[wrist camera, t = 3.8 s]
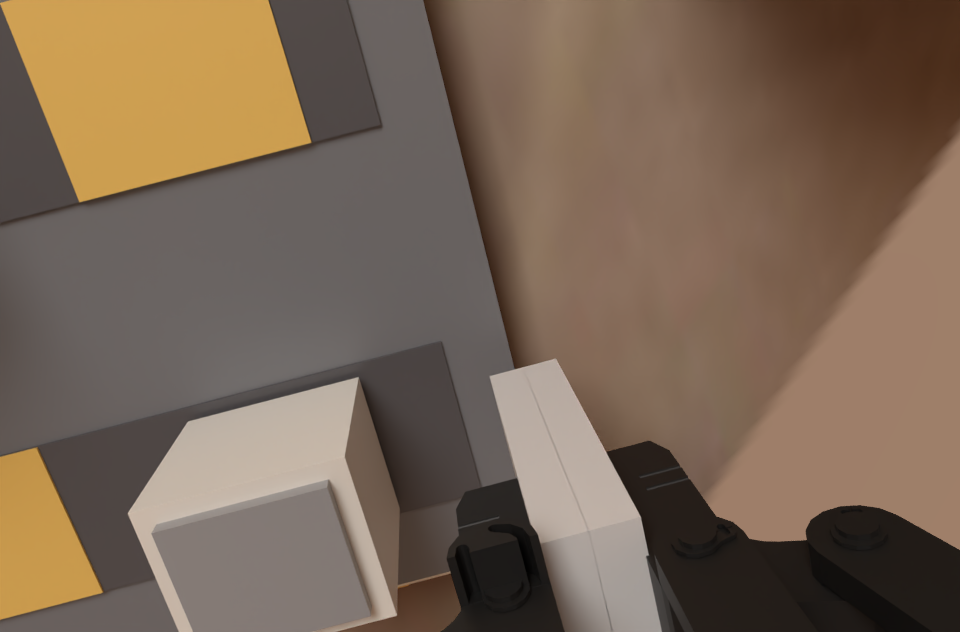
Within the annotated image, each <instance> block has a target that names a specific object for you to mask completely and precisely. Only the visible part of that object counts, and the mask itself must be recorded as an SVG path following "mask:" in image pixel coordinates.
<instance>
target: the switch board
mask: <svg viewBox="0 0 960 632" xmlns="http://www.w3.org/2000/svg"><path fill="white" fill-rule="evenodd" d="M511 370H515V369H514V365H513V361H512V357H511V353H510V349H509V345H508V340H507V336H506V332H505V328H504V324H503V320H502V316H501V312H500V308H499V304H498V300H497V296H496V292H495V288H494V284H493V280H492V276H491V272H490V268H489V264H488V260H487V256H486V252H485V248H484V244H483V240H482V236H481V232H480V228H479V224H478V220H477V216H476V211H475V207H474V203H473V199H472V195H471V191H470V187H469V183H468V179H467V175H466V171H465V167H464V163H463V159H462V155H461V151H460V147H459V143H458V139H457V135H456V131H455V127H454V123H453V119H452V115H451V111H450V107H449V103H448V99H447V95H446V91H445V86H444V82H443V78H442V74H441V70H440V66H439V62H438V58H437V54H436V50H435V46H434V42H433V38H432V34H431V30H430V26H429V22H428V18H427V14H426V10H425V6H424V2H423V0H0V632H179V631H178V629H177V626H176V624H175V622H174V619H173V617H172V615H171V612H170V610H169V608H168V605H167V603H166V601H165V599H164V596H163V594H162V592H161V589H160V587H159V585H158V582H157V580H156V578H155V575H154V573H153V571H152V569H151V566H150V564H149V562H148V559H147V557H146V555H145V552H144V550H143V548H142V545H141V543H140V541H139V539H138V536H137V534H136V532H135V529H134V527H133V525H132V522H131V520H130V518H129V515H128V512H129V511H130V509H131V507H132V506H133V504H134V503H135V501H136V500H137V498H138V497H139V495H140V494H141V492H142V491H143V489H144V488H145V486H146V485H147V483H148V482H149V480H150V479H151V477H152V476H153V474H154V472H155V471H156V469H157V468H158V466H159V465H160V463H161V462H162V460H163V459H164V457H165V456H166V454H167V453H168V451H169V450H170V448H171V447H172V445H173V444H174V442H175V440H176V439H177V437H178V436H179V434H180V433H181V431H182V430H183V428H184V427H185V425H186V424H187V422H188V421H192V420H196V419H200V418H203V417H207V416H211V415H215V414H219V413H223V412H226V411H230V410H234V409H238V408H242V407H246V406H249V405H253V404H257V403H261V402H265V401H269V400H273V399H276V398H280V397H284V396H288V395H292V394H296V393H299V392H303V391H307V390H311V389H315V388H319V387H322V386H326V385H330V384H334V383H338V382H342V381H346V380H349V379H353V378H357V377H359V380H360V383H361V386H362V389H363V392H364V396H365V399H366V402H367V405H368V408H369V412H370V415H371V418H372V421H373V424H374V428H375V431H376V434H377V437H378V440H379V444H380V447H381V450H382V453H383V456H384V459H385V463H386V466H387V469H388V472H389V475H390V479H391V482H392V485H393V488H394V491H395V495H396V498H397V501H398V504H399V507H400V521H399V558H398V588H402V587H406V586H409V584H413V583H416V582H420V581H424V580H428V579H432V578H435V577H439V576H443V575H447V574H451V572H450V569H449V566H448V562H447V559H446V558H447V554H448V549H449V547H450V546H451V544H452V543H453V542H454V541H455V539H456V538H457V537H458V536H459V532H458V524H457V515H456V508H457V506H458V504H459V502H460V501H461V499H462V497H463V495H464V493H465V492H466V491H470V490H474V489H477V488H481V487H485V486H489V485H492V484H496V483H500V482H504V481H507V480H511V479H515V478H516V476H515V472H514V468H513V464H512V460H511V457H510V453H509V449H508V445H507V441H506V437H505V434H504V430H503V426H502V422H501V418H500V414H499V411H498V407H497V403H496V399H495V395H494V392H493V388H492V384H491V380H490V376H492V375H496V374H500V373H504V372H507V371H511Z"/></svg>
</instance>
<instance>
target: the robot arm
mask: <svg viewBox="0 0 960 632" xmlns="http://www.w3.org/2000/svg"><path fill="white" fill-rule="evenodd" d="M490 380H491V384H492V388H493V392H494V395H495V399H496V403H497V407H498V411H499V414H500V418H501V422H502V426H503V430H504V434H505V437H506V441H507V445H508V449H509V453H510V457H511V460H512V464H513V468H514V472H515V476H516V478H515V479H511V480H507V481H504V482H500V483H496V484H492V485H489V486H485V487H481V488H477V489H474V490H470V491H466V492H465V493H464V495H463V497H462V499H461V501H460V502H459V504H458V506H457V508H456V515H457V524H458V532H459V536H458V537H457V538H456V539H455V541H454V542H453V543H452V544H451V546H450V547H449V549H448V554H447V558H446V559H447V562H448V566H449V569H450V572H451V576H452V579H453V582H454V586H455V589H456V592H457V596H458V599H459V602H460V606H461V612H460V613H459V614H458V616H457V617H456V618H455V620H454V621H453V622H452V623H451V624H450V625H449V626H447V627H446V628H445V629H444V630H443V631H441V632H960V550H959V549H957V548H955V547H953V546H951V545H949V544H948V543H946V542H944V541H943V540H941V539H939V538H937V537H935V536H933V535H932V534H930V533H928V532H926V531H925V530H923V529H921V528H919V527H917V526H915V525H914V524H912V523H910V522H909V521H907V520H905V519H903V518H901V517H899V516H898V515H896V514H893V513H891V512H888V511H885V510H883V509H880V508H874V507H867V506H861V505H858V506H841V507H837V508H834V509H830V510H827V511H824V512H822V513H821V514H819V515H818V516H816V517H815V518H813V519H812V520H811V521H810V523H809V525H808V527H807V529H806V537H807V540H804V541H784V542H766V541H765V542H764V541H758V540H752V539H749V538H748V537H747V535H746V534H745V533H744V531H743V530H742V529H740V528H739V527H738V526H737V525H735V524H734V523H733V522H731V521H728V520H725V519H722V518H719V517H716V516H715V514H714V513H713V511H712V510H711V509H710V507H709V506H708V504H707V503H706V501H705V500H704V499H703V497H702V496H701V494H700V493H699V492H698V490H697V489H696V487H695V486H694V485H693V483H692V482H691V480H690V479H688V476H687V475H686V473H685V472H684V471H683V469H682V468H680V465H679V463H678V462H677V461H676V459H675V458H674V456H673V455H672V454H671V452H670V451H669V450H668V449H665V448H663V447H661V446H659V445H657V444H655V443H653V442H651V441H646V442H642V443H639V444H635V445H631V446H627V447H624V448H620V449H616V450H612V451H609V452H606V451H605V449H604V447H603V446H602V444H601V442H600V440H599V438H598V436H597V434H596V433H595V431H594V429H593V427H592V425H591V423H590V421H589V420H588V418H587V416H586V414H585V412H584V410H583V408H582V406H581V405H580V403H579V401H578V399H577V397H576V395H575V393H574V392H573V390H572V388H571V386H570V384H569V382H568V380H567V379H566V377H565V375H564V373H563V371H562V369H561V367H560V365H559V364H558V362H557V360H556V359H553V360H549V361H545V362H541V363H538V364H534V365H530V366H526V367H522V368H519V369H515V370H511V371H507V372H504V373H500V374H496V375H492V376H490Z"/></svg>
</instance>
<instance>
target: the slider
mask: <svg viewBox="0 0 960 632" xmlns="http://www.w3.org/2000/svg"><path fill="white" fill-rule="evenodd" d="M128 515H129V518H130V520H131V522H132V525H133V527H134V529H135V532H136V534H137V536H138V539H139V541H140V543H141V545H142V548H143V550H144V552H145V555H146V557H147V559H148V562H149V564H150V566H151V569H152V571H153V573H154V575H155V578H156V580H157V582H158V585H159V587H160V589H161V592H162V594H163V596H164V599H165V601H166V603H167V605H168V608H169V610H170V612H171V615H172V617H173V619H174V622H175V624H176V626H177V629H178V631H179V632H337V631H341V630H344V629H348V628H352V627H356V626H360V625H363V624H367V623H371V622H375V621H379V620H382V619H386V618H390V617H394V616H397V596H398V558H399V521H400V507H399V504H398V501H397V498H396V495H395V491H394V488H393V485H392V482H391V479H390V475H389V472H388V469H387V466H386V463H385V459H384V456H383V453H382V450H381V447H380V444H379V440H378V437H377V434H376V431H375V428H374V424H373V421H372V418H371V415H370V412H369V408H368V405H367V402H366V399H365V396H364V392H363V389H362V386H361V383H360V380H359V377H357V378H353V379H349V380H346V381H342V382H338V383H334V384H330V385H326V386H322V387H319V388H315V389H311V390H307V391H303V392H299V393H296V394H292V395H288V396H284V397H280V398H276V399H273V400H269V401H265V402H261V403H257V404H253V405H249V406H246V407H242V408H238V409H234V410H230V411H226V412H223V413H219V414H215V415H211V416H207V417H203V418H200V419H196V420H192V421H188V422H187V424H186V425H185V427H184V428H183V430H182V431H181V433H180V434H179V436H178V437H177V439H176V440H175V442H174V444H173V445H172V447H171V448H170V450H169V451H168V453H167V454H166V456H165V457H164V459H163V460H162V462H161V463H160V465H159V466H158V468H157V469H156V471H155V472H154V474H153V476H152V477H151V479H150V480H149V482H148V483H147V485H146V486H145V488H144V489H143V491H142V492H141V494H140V495H139V497H138V498H137V500H136V501H135V503H134V504H133V506H132V507H131V509H130V511H129V512H128Z"/></svg>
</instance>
